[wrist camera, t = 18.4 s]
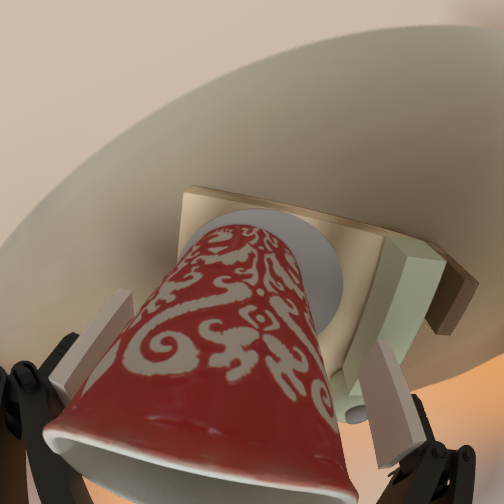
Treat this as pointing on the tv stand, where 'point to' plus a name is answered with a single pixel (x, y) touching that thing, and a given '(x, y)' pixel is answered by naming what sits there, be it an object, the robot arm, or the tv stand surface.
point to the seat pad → (304, 250)
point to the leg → (388, 316)
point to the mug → (213, 388)
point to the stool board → (351, 261)
